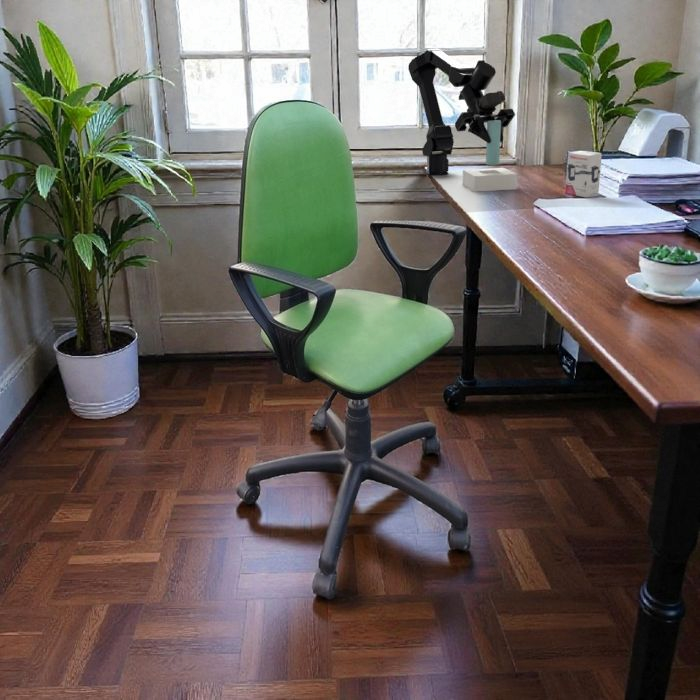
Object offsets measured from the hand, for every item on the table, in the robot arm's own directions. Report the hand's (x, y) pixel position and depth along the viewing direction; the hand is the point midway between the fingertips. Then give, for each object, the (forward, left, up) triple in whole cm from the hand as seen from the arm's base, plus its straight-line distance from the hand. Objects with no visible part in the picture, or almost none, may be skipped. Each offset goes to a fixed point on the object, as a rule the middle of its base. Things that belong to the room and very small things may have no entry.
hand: (496, 141), depth 227 cm
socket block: (-1, +1, -13) cm, 14 cm away
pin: (0, +1, -7) cm, 7 cm away
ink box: (+20, -19, -14) cm, 30 cm away
